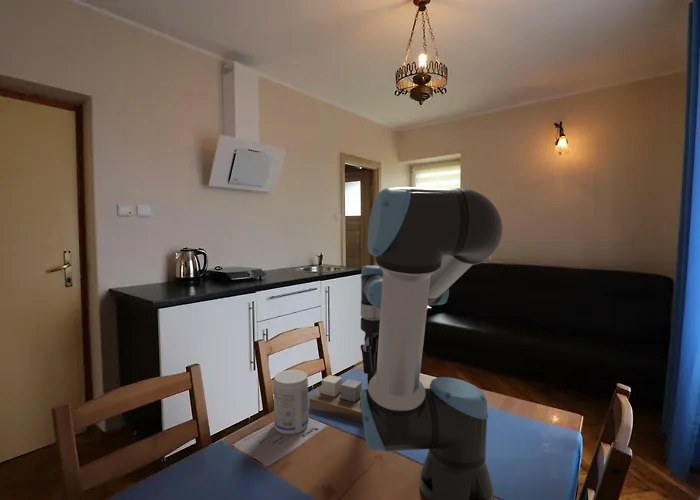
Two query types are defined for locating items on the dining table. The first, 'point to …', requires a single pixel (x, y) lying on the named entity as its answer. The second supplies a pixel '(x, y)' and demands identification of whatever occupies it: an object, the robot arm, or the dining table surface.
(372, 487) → the dining table surface
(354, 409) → the wooden board
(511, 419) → the dining table surface
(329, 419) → the dining table surface
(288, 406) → the supplement tub
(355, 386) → the gray cube
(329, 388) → the beige cube
